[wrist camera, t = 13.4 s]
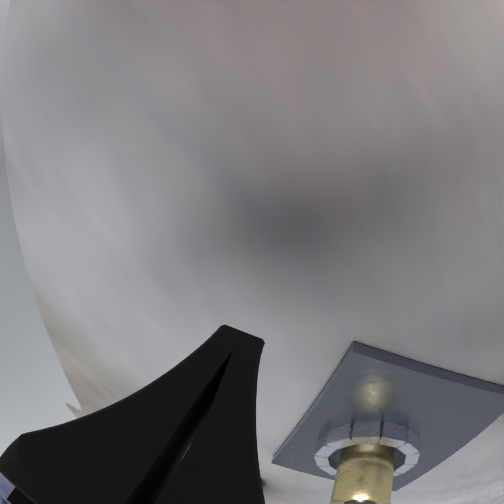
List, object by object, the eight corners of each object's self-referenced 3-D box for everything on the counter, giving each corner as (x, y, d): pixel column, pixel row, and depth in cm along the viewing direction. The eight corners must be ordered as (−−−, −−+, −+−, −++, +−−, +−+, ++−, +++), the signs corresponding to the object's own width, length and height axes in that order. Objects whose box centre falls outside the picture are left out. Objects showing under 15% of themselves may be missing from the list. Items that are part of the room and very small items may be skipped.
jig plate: (515, 389, 18) (522, 412, 16) (396, 484, 28) (394, 501, 26) (353, 341, 20) (350, 368, 18) (273, 455, 31) (267, 473, 28)
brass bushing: (392, 430, 22) (387, 493, 17) (397, 455, 24) (392, 510, 19) (335, 436, 24) (323, 496, 19) (347, 460, 26) (337, 512, 21)
